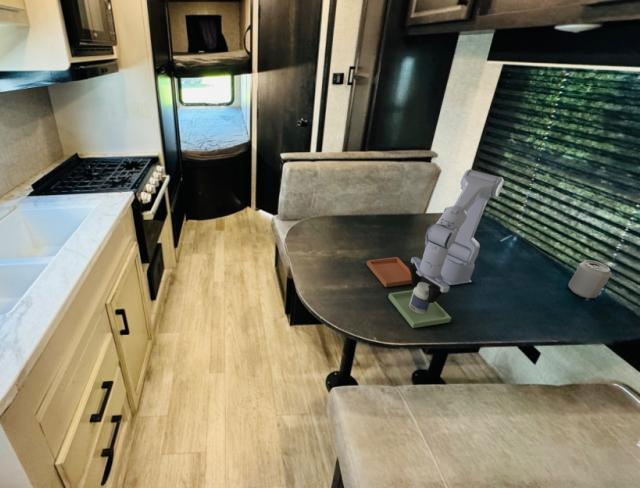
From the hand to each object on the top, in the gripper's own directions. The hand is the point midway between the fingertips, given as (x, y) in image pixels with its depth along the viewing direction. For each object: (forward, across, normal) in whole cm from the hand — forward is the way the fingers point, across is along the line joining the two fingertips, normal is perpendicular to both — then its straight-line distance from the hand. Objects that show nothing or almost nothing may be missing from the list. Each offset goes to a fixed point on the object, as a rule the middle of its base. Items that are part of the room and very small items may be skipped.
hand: (422, 293), depth 102 cm
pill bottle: (+7, 0, 0) cm, 7 cm away
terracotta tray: (+7, -18, +2) cm, 19 cm away
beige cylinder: (+8, +3, +63) cm, 63 cm away
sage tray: (+7, 0, 0) cm, 7 cm away
